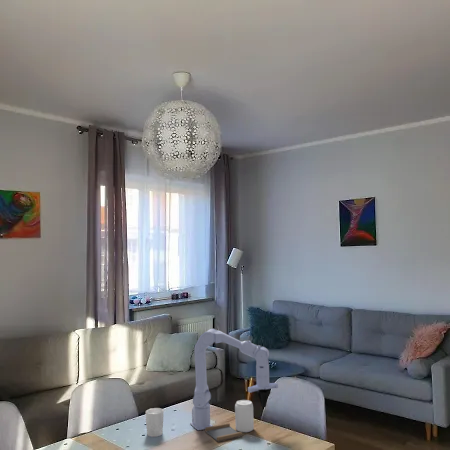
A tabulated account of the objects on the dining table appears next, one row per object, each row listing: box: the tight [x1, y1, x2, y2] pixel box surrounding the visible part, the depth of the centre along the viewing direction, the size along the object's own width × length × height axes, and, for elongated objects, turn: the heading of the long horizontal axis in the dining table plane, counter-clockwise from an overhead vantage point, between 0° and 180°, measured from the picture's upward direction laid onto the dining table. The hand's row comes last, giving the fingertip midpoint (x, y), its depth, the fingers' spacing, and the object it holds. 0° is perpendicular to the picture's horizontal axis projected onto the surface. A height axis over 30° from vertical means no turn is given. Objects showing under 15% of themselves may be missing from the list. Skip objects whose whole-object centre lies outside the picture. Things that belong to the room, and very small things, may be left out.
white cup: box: [145, 407, 165, 438], centre depth 203 cm, size 8×8×10 cm
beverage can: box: [234, 399, 255, 433], centre depth 206 cm, size 8×8×12 cm
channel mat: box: [204, 422, 243, 443], centre depth 201 cm, size 13×12×2 cm
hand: (263, 406), depth 205 cm, fingers closed
